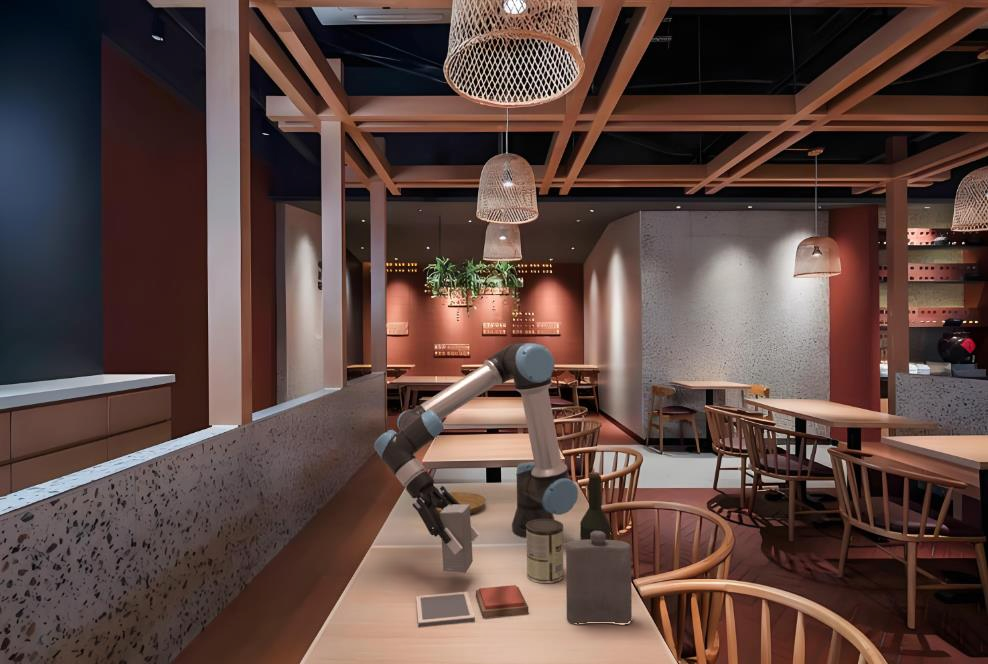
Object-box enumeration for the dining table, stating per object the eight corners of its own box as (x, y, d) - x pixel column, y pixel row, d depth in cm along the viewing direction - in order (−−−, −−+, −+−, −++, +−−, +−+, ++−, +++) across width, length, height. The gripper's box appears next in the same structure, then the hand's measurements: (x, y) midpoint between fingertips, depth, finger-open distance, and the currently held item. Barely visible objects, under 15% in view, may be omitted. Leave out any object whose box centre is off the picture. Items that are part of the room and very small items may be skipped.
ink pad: (518, 592, 141) (518, 583, 141) (528, 613, 130) (528, 603, 130) (475, 596, 139) (475, 587, 139) (482, 618, 128) (482, 608, 128)
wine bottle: (605, 598, 137) (604, 478, 138) (574, 590, 142) (573, 474, 142) (616, 585, 144) (615, 471, 145) (587, 578, 149) (586, 468, 149)
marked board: (467, 595, 140) (467, 591, 140) (474, 621, 127) (474, 617, 127) (416, 600, 137) (416, 596, 137) (418, 627, 124) (418, 622, 124)
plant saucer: (412, 516, 204) (412, 507, 204) (437, 497, 227) (437, 489, 227) (473, 522, 197) (473, 512, 197) (493, 502, 220) (493, 494, 220)
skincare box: (466, 574, 142) (465, 513, 142) (439, 572, 143) (438, 511, 143) (473, 561, 150) (472, 503, 150) (448, 559, 151) (447, 502, 152)
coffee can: (531, 566, 157) (531, 516, 158) (567, 570, 154) (566, 520, 154) (521, 581, 148) (521, 528, 148) (559, 586, 144) (558, 532, 145)
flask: (628, 613, 130) (627, 528, 130) (633, 626, 124) (633, 537, 124) (565, 612, 131) (564, 528, 131) (567, 625, 125) (566, 537, 125)
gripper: (428, 478, 163) (476, 539, 156) (384, 498, 143) (438, 569, 137) (443, 461, 161) (493, 522, 154) (401, 480, 141) (456, 551, 134)
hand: (467, 544), depth 145 cm, fingers closed on skincare box, 9 cm apart
